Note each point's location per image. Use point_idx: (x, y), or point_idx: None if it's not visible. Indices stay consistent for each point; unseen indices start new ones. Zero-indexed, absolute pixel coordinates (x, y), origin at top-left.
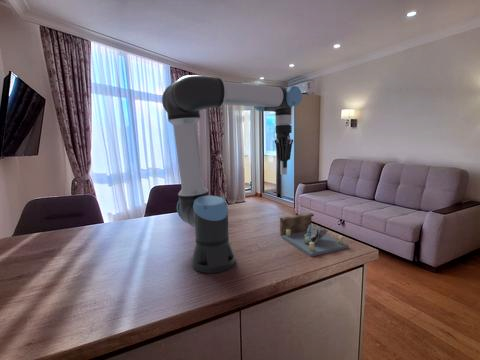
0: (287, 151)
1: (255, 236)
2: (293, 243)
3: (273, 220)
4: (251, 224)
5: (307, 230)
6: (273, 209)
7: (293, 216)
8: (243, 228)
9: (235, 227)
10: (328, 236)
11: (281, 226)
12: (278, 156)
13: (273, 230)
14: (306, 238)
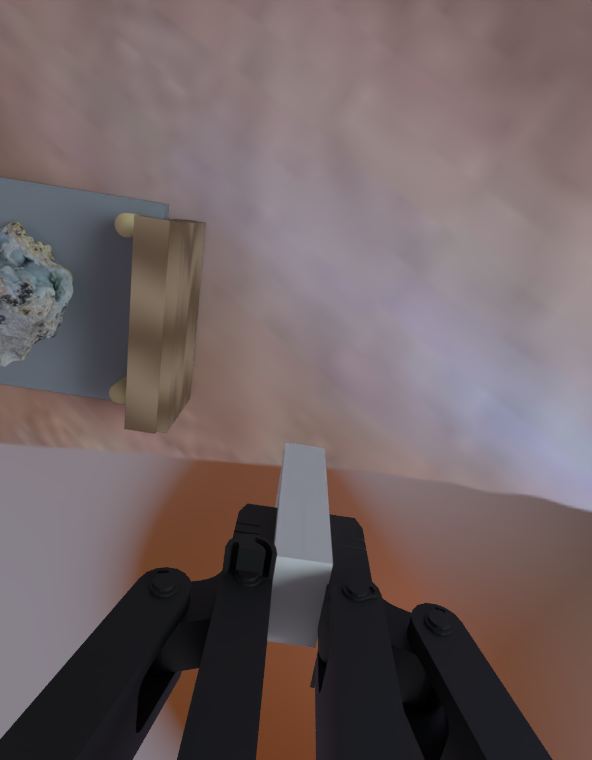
0: (10, 752)
1: (267, 89)
2: (60, 187)
3: (420, 350)
4: (450, 193)
5: (31, 276)
6: (586, 486)
7: (146, 301)
8: (423, 104)
9: (473, 67)
10: (47, 382)
11: (179, 220)
12: (433, 653)
13: (286, 241)
14: (19, 242)
